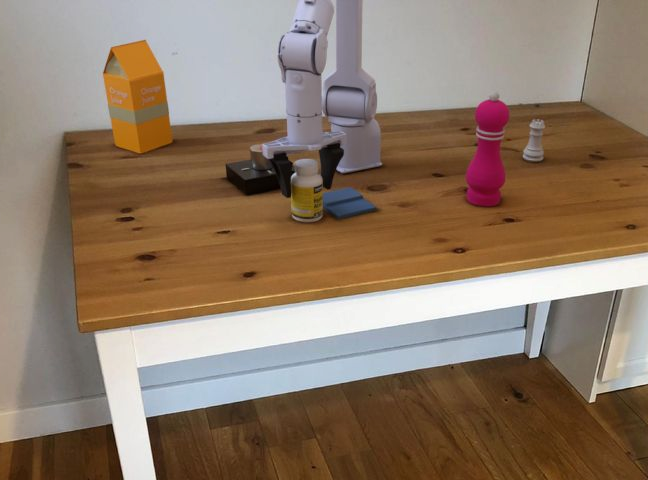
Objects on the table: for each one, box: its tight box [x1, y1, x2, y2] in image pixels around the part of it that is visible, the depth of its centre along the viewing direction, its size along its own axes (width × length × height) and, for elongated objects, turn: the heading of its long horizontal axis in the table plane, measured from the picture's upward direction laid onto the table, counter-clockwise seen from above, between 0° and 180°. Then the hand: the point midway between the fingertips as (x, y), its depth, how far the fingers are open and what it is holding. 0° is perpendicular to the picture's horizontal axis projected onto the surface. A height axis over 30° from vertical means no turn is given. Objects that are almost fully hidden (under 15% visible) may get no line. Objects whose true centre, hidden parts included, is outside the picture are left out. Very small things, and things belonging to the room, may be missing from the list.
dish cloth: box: [323, 186, 377, 220], centre depth 138 cm, size 8×9×1 cm
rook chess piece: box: [522, 119, 546, 163], centre depth 159 cm, size 4×4×8 cm
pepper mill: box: [465, 90, 510, 207], centre depth 137 cm, size 7×7×20 cm
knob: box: [249, 143, 272, 170], centre depth 143 cm, size 4×4×4 cm
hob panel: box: [225, 158, 296, 196], centre depth 145 cm, size 11×9×3 cm
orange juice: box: [102, 39, 173, 155], centre depth 154 cm, size 8×9×20 cm
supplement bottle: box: [290, 158, 324, 223], centre depth 131 cm, size 5×5×10 cm
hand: (306, 191), depth 131 cm, fingers open, 7 cm apart
